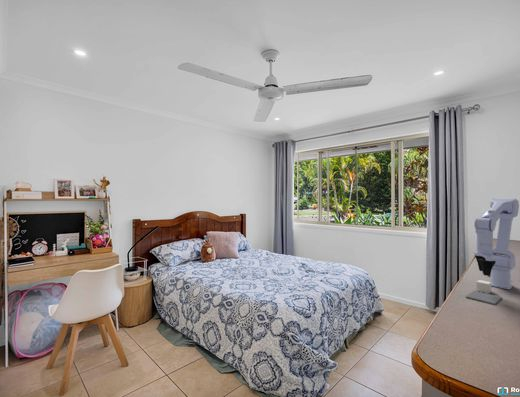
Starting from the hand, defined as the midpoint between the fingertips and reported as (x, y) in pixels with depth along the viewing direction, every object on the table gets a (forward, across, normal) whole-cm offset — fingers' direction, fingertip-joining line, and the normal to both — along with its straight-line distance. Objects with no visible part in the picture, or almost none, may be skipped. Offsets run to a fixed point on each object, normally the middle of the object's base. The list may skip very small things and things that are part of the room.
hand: (484, 273), depth 125 cm
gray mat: (+9, +7, -2) cm, 12 cm away
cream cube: (+10, -4, +1) cm, 10 cm away
